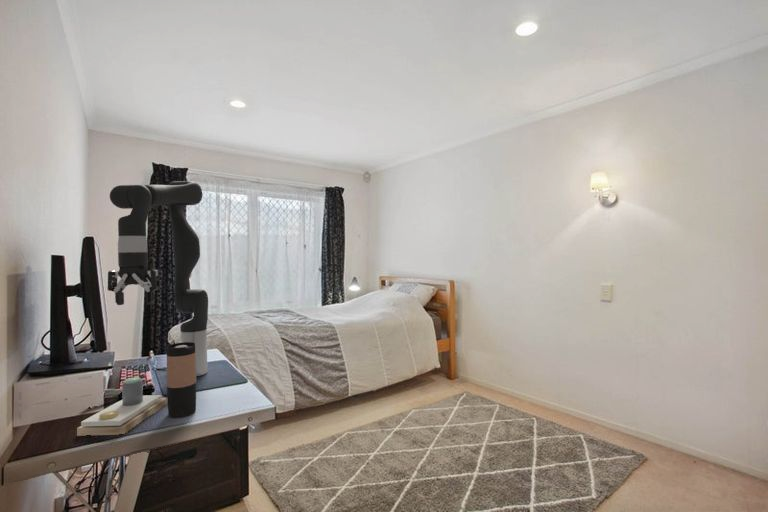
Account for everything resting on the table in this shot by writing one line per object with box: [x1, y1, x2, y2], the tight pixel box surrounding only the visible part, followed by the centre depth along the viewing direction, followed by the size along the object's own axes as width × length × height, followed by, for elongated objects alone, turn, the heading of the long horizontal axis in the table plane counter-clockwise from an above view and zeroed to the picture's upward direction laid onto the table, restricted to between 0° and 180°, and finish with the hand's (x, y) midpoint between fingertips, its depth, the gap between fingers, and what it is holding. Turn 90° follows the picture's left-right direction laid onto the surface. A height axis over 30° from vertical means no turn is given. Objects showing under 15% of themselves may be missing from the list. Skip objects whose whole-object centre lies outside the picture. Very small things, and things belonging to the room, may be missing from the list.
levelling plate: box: [80, 377, 163, 427], centre depth 107 cm, size 19×10×8 cm, turn 1°
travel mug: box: [166, 342, 197, 419], centre depth 111 cm, size 8×8×20 cm
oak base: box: [76, 397, 168, 437], centre depth 108 cm, size 20×12×2 cm, turn 1°
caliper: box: [103, 388, 122, 399], centre depth 125 cm, size 20×1×6 cm, turn 154°
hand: (134, 304), depth 115 cm, fingers open, 8 cm apart
